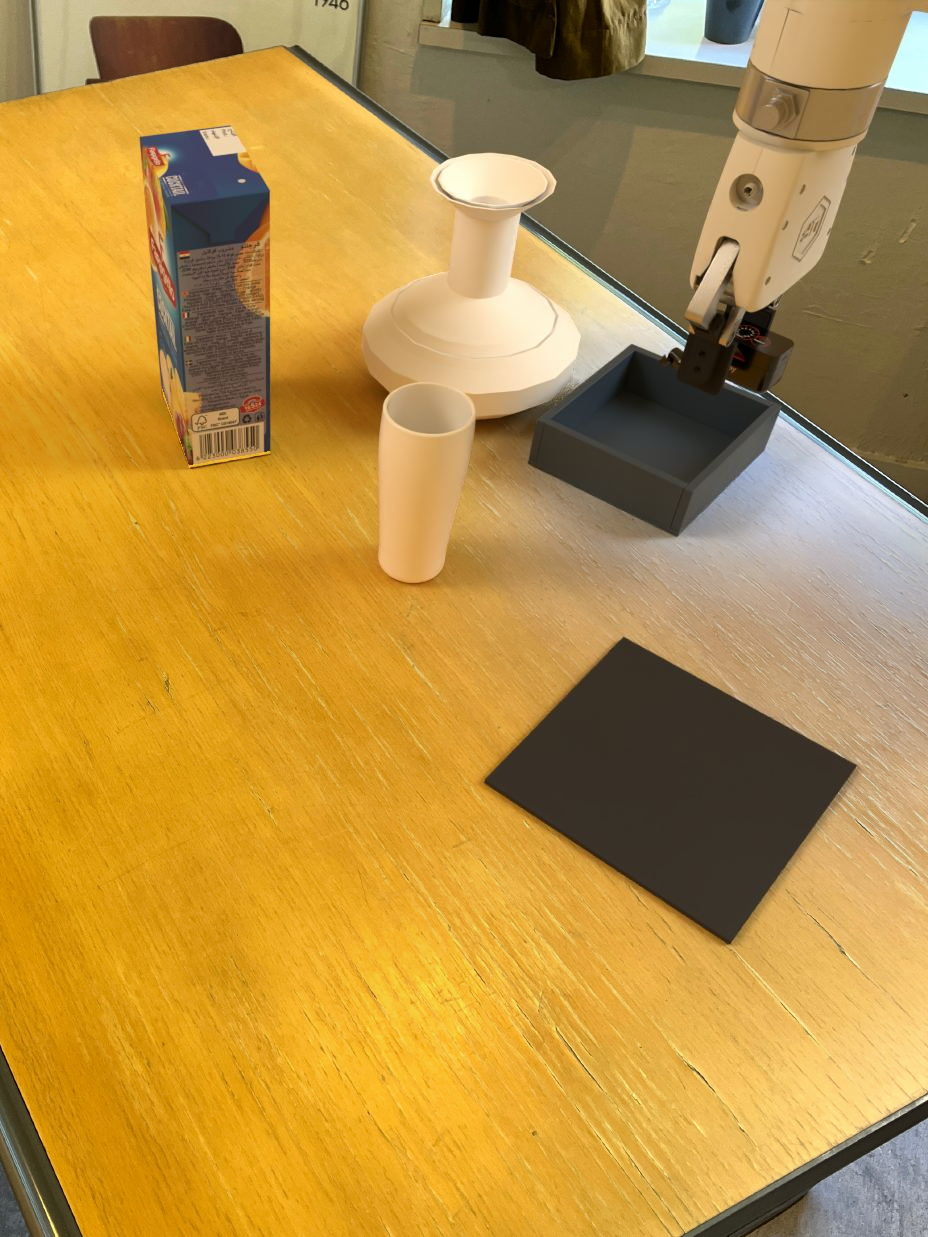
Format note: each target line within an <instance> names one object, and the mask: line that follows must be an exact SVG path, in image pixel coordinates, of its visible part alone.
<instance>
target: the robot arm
mask: <svg viewBox="0 0 928 1237" xmlns="http://www.w3.org/2000/svg"><path fill="white" fill-rule="evenodd" d="M913 12H919V13H925V14H928V0H765V1H764V6H763V9H762V13H761V16H760V18H759V22H758V25H757V29H756V33H755V36H754V40H753V43H752V46H751V50H750V54H749V56H748V60H747V64H746V66H745V71H744V74H743V78H742V80H741V84H740V88H739V91H738V95H737V99H736V102H735V106H734V109H733V112H732V122H733V124H734V126H735V127H736V128H737V129H738V131H737V133H736V136H735V139H734V141H733V143H732V146H731V149H730V151H729V154H728V156H727V159H726V161H725V164H724V166H723V170H722V172H721V175H720V178H719V180H718V183H717V186H716V189H715V191H714V194H713V197H712V200H711V203H710V205H709V209H708V212H707V215H706V218H705V221H704V223H703V226H702V230H701V234H700V237H699V240H698V242H697V246H696V250H695V254H694V257H693V261H692V266H691V270H690V276H689V284H690V288H691V289H692V291H694V292H695V293H694V295H693V296H692V299H691V300H690V302H689V304H688V306H687V308H686V310H685V313H684V315H683V316H684V319H685V320H686V321H688V322H689V325H688V329H687V332H688V336H687V339H686V341H685V344H684V348H683V350H682V351H683V355H682V358H681V361H680V365H679V368H678V371H677V375H676V377H677V379H678V380H679V381H680V382H683V383H685V384H687V385H690V386H692V387H694V388H697V389H699V390H701V391H704V392H706V393H708V394H711V395H717V394H718V393H719V392H721V391H722V389H723V386H724V383H725V382H726V381H727V380H726V377H727V374H728V371H729V368H730V366H731V363H732V360H733V357H734V354H735V351H736V348H737V345H738V342H736V341H733V339H734V337H735V335H736V332H737V330H738V328H739V325H740V323H741V321H742V319H744V320H746V321H749V322H751V323H753V324H756V325H758V326H760V327H763V328H765V329H767V330H770V331H771V327H772V324H773V321H774V319H775V316H776V313H777V310H776V309H774V308H776V307H778V305H779V304H780V302H781V301H782V299H783V296H784V293H785V292H787V291H788V290H789V289H790V288H792V286H793V285H795V284H796V283H798V282H799V281H800V280H801V279H802V278H804V276H806V275H807V274H808V273H809V272H810V271H811V270H812V269H813V268H814V267H816V265H817V264H818V262H819V261H820V260H821V258H822V256H823V254H824V252H825V249H826V246H827V243H828V240H829V237H830V234H831V231H832V229H833V225H834V223H835V219H836V217H837V213H838V210H839V207H840V204H841V201H842V198H843V194H844V191H845V189H846V185H847V182H848V180H849V176H850V173H851V169H852V165H853V163H854V159H855V155H856V152H857V148H858V144H859V143H860V142H861V141H863V140H864V139H865V138H866V136H867V133H868V132H869V128H870V125H871V123H872V120H873V117H874V115H875V112H876V110H877V107H878V105H879V102H880V99H881V96H882V94H883V92H884V89H885V86H886V83H887V81H888V79H889V74H890V72H891V70H892V67H893V64H894V62H895V59H896V56H897V54H898V51H899V49H900V46H901V43H902V40H903V38H904V35H905V33H906V30H907V27H908V25H909V23H910V19H911V18H912V14H913ZM729 284H730V285H731V286H733V290H730V289H728V288H727V287H728V285H729ZM719 303H721V304H723V305H726V306H725V310H724V311H725V312H727V313H730V315H729V317H728V319H727V322H726V320H725V318H724V315H722V314H719V313H718V312H717V311H716V309H717V307H718V304H719Z"/></svg>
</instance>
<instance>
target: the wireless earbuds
mask: <svg viewBox="0 0 928 1237" xmlns="http://www.w3.org/2000/svg"><path fill="white" fill-rule="evenodd" d="M716 311H717V312H718V313H719V314H722V315H724V318H725V320H726V322H727V319H728V317H729V315H730V313H727V312H725V310H723V309H718V308H716ZM733 341H736V342H738V345H737V348H736V351H735V354H734V357H733V360H732V363H731V366H730V368H729V371H728V374H727V377H726V380H725V381H728V382H730V383H731V384H734V385H737V386H738V387H740V388H742V389H744V390H746V391H748V392H751V393H753V394H755V395H763V394H765V393H767V392H768V391H770V390H771V389H772V388H773V387H774V386H776V385H777V384H778V383H780V381H781V380H782V378H783V376H784V372H785V370H786V368H787V364H788V362H789V360H790V357H791V355H792V352H793V349H794V347H795V342H794V340H792V339H791V338H789V337H786V336H784V335H781V334H779V333H777V332H775V331H772V330H771V329H770V330H767V329H765V328H763V327H760V326H758V325H756V324H753V323H751V322H749V321H746V320H744V319H742V321H741V323H740V325H739V328H738V330H737V332H736V335H735V337H734V339H733ZM683 351H684V350H682V349H681V348H679V347H678V346H676V347H673V348H672V349H670V350H669V352H668V354H667V355H666V354H663V355H661V356H662V358H661V359H660V360H659V364H661V365H663V366H667V363H668V364H669V365H670V366H671V367H673V368H675V369H676V370H678V368H679V365H680V361H681V358H682V355H683Z"/></svg>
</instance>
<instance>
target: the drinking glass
mask: <svg viewBox="0 0 928 1237" xmlns="http://www.w3.org/2000/svg"><path fill="white" fill-rule="evenodd" d="M476 421H477V420H476V407H475V405H474V403H473V401H472V400H471V399H470V398H469V396H467V395H466V394H465V393H464V392H462V391H460V390H459V389H456V388H454V387H452V386H449V385H445V384H441V383H434V382H418V383H412V384H407V385H404V386H402V387H399V388H397V389H395V390H394V391H392V392H391V393H390V392H389V393H388V395H387V396H386V398H385V399H384V401H383V404H382V410H381V418H380V425H379V432H378V446H377V447H378V448H377V478H378V483H377V484H378V485H377V486H378V539H379V540H378V549H377V559H378V564H379V566H380V568H381V569H382V571H383V572H384V573H385V574H386V575H387V576H389V577H390V578H392V579H394V580H395V581H398V582H402V583H405V584H406V583H407V584H419V583H425V582H428V581H431V580H432V579H434V578H435V577H437V576H438V575H439V574H440V573H441V571H442V570H443V568H444V565H445V562H446V557H447V556H446V555H447V550H448V545H449V542H450V537H451V533H452V530H453V526H454V521H455V518H456V514H457V510H458V508H459V507H458V506H459V503H460V499H461V496H462V492H463V489H464V486H465V485H464V484H465V481H466V477H467V474H468V469H469V465H470V461H471V458H472V451H473V445H474V439H475V430H476Z"/></svg>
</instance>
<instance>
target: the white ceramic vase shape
mask: <svg viewBox="0 0 928 1237" xmlns="http://www.w3.org/2000/svg"><path fill="white" fill-rule="evenodd" d="M429 181H430V183H431V185H432V187H433V189H434V191H435V192H437V193H438V194H439V196H441V197H442V198H444V199H445V200H446V201H447V202H448V203H450V204H451V205H452V206H453V207H454V208H455V214H454V221H453V229H452V231H453V232H452V237H451V245H450V253H449V262H448V270H446V271H443V272H442V271H441V272H438V273H434V274H430V275H427V276H424V277H420V278H417V279H413V280H412V281H410V282H408V283H406V284H404V285H401V286H399V287H397V288H395V289H393V290H392V291H390V292H389V293H388V294H387V295H385V296H384V297H382V298H381V299H380V300H379V301H377V302H376V303H374V305H372V307H371V309H370V311H369V313H368V316H367V317H366V319H365V322H364V324H363V326H362V334H361V353H362V356H363V358H364V361H365V365H366V367H367V371H368V373H369V374H370V375H371V376H372V377H373V378H374V379H375V380H376V381H377V382H378V383H379V384H380V385H381V386H382V387H383V389H385V390H386V391H388V393H389V394H390V393H391V392H392V391H394V390H395V389H397V388H399V387H402V386H404V385H407V384H412V383H418V382H434V383H441V384H445V385H449V386H452V387H454V388H456V389H459V390H460V391H462V392H464V393H465V394H466V395H467V396H469V398H470V399H471V400H472V401H473V403H474V405H475V407H476V421H478V420H479V421H480V420H490V419H499V418H504V417H506V416H509V415H514V414H517V413H519V412H522V411H525V410H528V409H531V408H534V407H538V406H541V405H542V404H546V403H548V402H551V401H552V400H553V399H555V397H557V395H559V393H560V392H561V391H562V390H563V389H564V388H565V387H566V386H567V385H569V383H570V382H571V381H572V377H573V372H574V369H575V365H576V360H577V356H578V352H579V348H580V342H581V339H582V335H581V333H580V331H579V329H578V327H577V326H576V323H575V322H574V321H573V319H572V317H571V315H570V313H569V312H567V311H566V310H565V309H564V308H562V307H561V306H560V305H558V304H557V303H556V302H554V301H553V300H552V299H550V297H548V296H547V295H545V294H544V293H543V292H541V291H540V290H539V289H537V288H536V287H534V286H533V285H532V284H530V283H528V282H525V281H523V280H521V279H519V278H515V277H512V276H511V275H512V268H513V262H514V257H515V252H516V251H515V250H516V245H517V238H518V232H519V225H520V221H521V214H522V213H523V212H525V211H527V210H529V209H531V208H532V207H535V206H536V205H538V204H540V203H542V202H543V201H544V200H546V199H547V198H548V197H549V196H551V195H552V194H554V192H555V188H556V185H557V180H556V178H555V177H554V175H553V174H552V172H551V171H550V170H549V169H548V168H546V167H544V166H543V165H541V164H539V163H538V162H536V161H535V160H531V159H528V158H524V157H521V156H517V155H515V154H513V155H512V154H505V153H496V152H483V153H482V152H481V153H469V154H465V155H461V156H457V157H453V158H448V159H446V160H445V161H444V162H443V161H442V163H440V164H439V165H437V166H436V167H435V168H433V171H432V173H431V175H430V177H429Z"/></svg>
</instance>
